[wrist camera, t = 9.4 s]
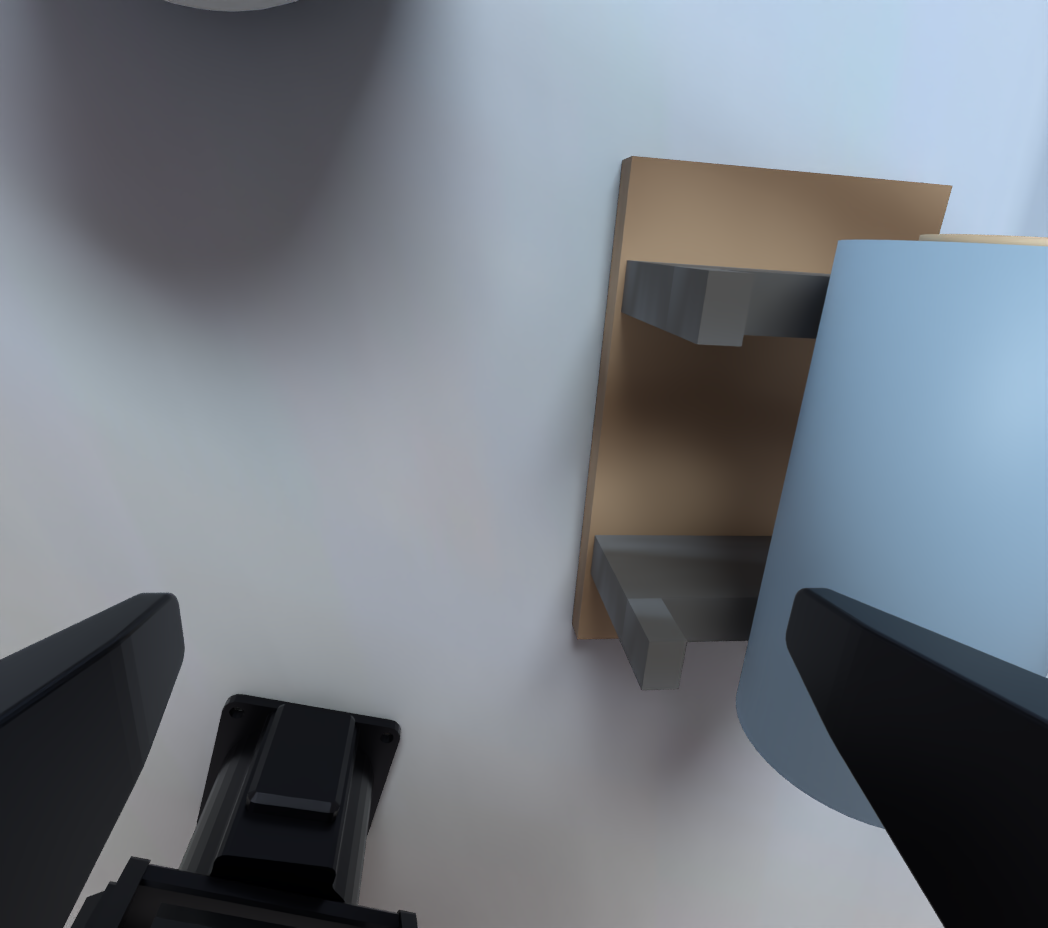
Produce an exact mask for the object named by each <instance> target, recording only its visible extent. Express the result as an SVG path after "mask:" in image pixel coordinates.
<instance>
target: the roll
mask: <svg viewBox="0 0 1048 928" xmlns="http://www.w3.org/2000/svg"><path fill="white" fill-rule="evenodd" d="M802 588H828V589H831V590H833V591H836V592H838V593H840V594H843V595H845V596H848V597H850V598H853V599H855V600H858V601H860V602H862V603H865V604H867V605H870V606H872V607H875V608H877V609H879V610H882V611H884V612H887V613H889V614H892V615H894V616H897V617H899V618H901V619H904V620H906V621H909V622H911V623H914V624H916V625H919V626H921V627H923V628H926V629H928V630H931V631H933V632H936V633H938V634H941V635H943V636H945V637H948V638H950V639H953V640H955V641H958V642H960V643H962V644H965V645H967V646H970V647H972V648H975V649H977V650H980V651H982V652H984V653H987V654H989V655H992V656H994V657H997V658H999V659H1002V660H1004V661H1006V662H1009V663H1011V664H1014V665H1016V666H1019V667H1021V668H1024V669H1026V670H1028V671H1031V672H1033V673H1036V674H1038V675H1041V676H1043V677H1046V676H1047V673H1048V238H1045V237H1025V236H1002V235H971V234H925V235H920V236H919V240H918V241H907V240H839V241H838V244H837V248H836V253H835V257H834V262H833V266H832V271H831V275H830V280H829V284H828V289H827V293H826V298H825V302H824V306H823V311H822V315H821V320H820V324H819V329H818V333H817V338H816V342H815V347H814V351H813V356H812V360H811V364H810V369H809V373H808V378H807V382H806V387H805V391H804V396H803V400H802V405H801V409H800V414H799V418H798V422H797V427H796V431H795V436H794V440H793V445H792V449H791V454H790V458H789V463H788V467H787V472H786V476H785V480H784V485H783V489H782V494H781V498H780V503H779V507H778V512H777V516H776V521H775V525H774V529H773V534H772V538H771V543H770V547H769V552H768V556H767V561H766V565H765V570H764V574H763V579H762V583H761V587H760V592H759V596H758V601H757V605H756V610H755V614H754V619H753V623H752V628H751V632H750V637H749V641H748V645H747V650H746V654H745V659H744V663H743V668H742V672H741V677H740V681H739V686H738V690H737V695H736V709H737V714H738V718H739V721H740V723H741V726H742V728H743V730H744V732H745V734H746V735H747V737H748V739H749V740H750V742H751V743H752V744H753V746H754V747H755V749H756V750H757V751H758V752H759V754H760V755H761V756H762V757H763V758H764V759H765V760H766V761H767V763H769V764H770V765H771V766H772V767H773V768H774V769H775V770H776V771H777V772H778V773H779V774H780V775H782V776H783V777H784V778H785V779H787V780H788V781H789V782H790V783H792V784H793V785H794V786H795V787H797V788H798V789H800V790H801V791H803V792H804V793H806V794H807V795H809V796H810V797H812V798H814V799H815V800H817V801H819V802H821V803H822V804H824V805H826V806H828V807H829V808H832V809H834V810H836V811H838V812H840V813H842V814H844V815H846V816H848V817H851V818H854V819H856V820H859V821H861V822H864V823H867V824H869V825H873V826H876V827H880V828H883V829H885V828H884V827H883V825H882V823H881V822H880V820H879V818H878V817H877V815H876V813H875V812H874V810H873V808H872V807H871V805H870V803H869V802H868V800H867V798H866V797H865V795H864V793H863V792H862V790H861V788H860V787H859V785H858V783H857V782H856V780H855V779H854V777H853V775H852V774H851V772H850V770H849V769H848V767H847V765H846V764H845V762H844V760H843V759H842V757H841V755H840V754H839V752H838V750H837V748H836V747H835V745H834V743H833V741H832V740H831V738H830V736H829V734H828V732H827V730H826V728H825V726H824V724H823V722H822V720H821V718H820V716H819V714H818V712H817V710H816V708H815V706H814V704H813V702H812V700H811V697H810V695H809V693H808V691H807V689H806V687H805V685H804V683H803V681H802V679H801V677H800V674H799V672H798V670H797V668H796V666H795V664H794V662H793V660H792V658H791V656H790V654H789V652H788V649H787V645H786V639H785V637H786V629H787V625H788V621H789V617H790V613H791V609H792V605H793V601H794V598H795V595H796V593H797V592H798V591H799V590H800V589H802Z"/></svg>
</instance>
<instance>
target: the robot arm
mask: <svg viewBox="0 0 1048 928" xmlns="http://www.w3.org/2000/svg"><path fill="white" fill-rule="evenodd" d="M785 639H786V645H787V649H788V652H789V654H790V656H791V658H792V660H793V662H794V664H795V666H796V668H797V670H798V672H799V674H800V677H801V679H802V681H803V683H804V685H805V687H806V689H807V691H808V693H809V695H810V697H811V700H812V702H813V704H814V706H815V708H816V710H817V712H818V714H819V716H820V718H821V720H822V722H823V724H824V726H825V728H826V730H827V732H828V734H829V736H830V738H831V740H832V741H833V743H834V745H835V747H836V748H837V750H838V752H839V754H840V755H841V757H842V759H843V760H844V762H845V764H846V765H847V767H848V769H849V770H850V772H851V774H852V775H853V777H854V779H855V780H856V782H857V783H858V785H859V787H860V788H861V790H862V792H863V793H864V795H865V797H866V798H867V800H868V802H869V803H870V805H871V807H872V808H873V810H874V812H875V813H876V815H877V817H878V818H879V820H880V822H881V823H882V825H883V827H884V828H885V830H886V832H887V833H888V835H889V837H890V838H891V840H892V842H893V843H894V845H895V846H896V848H897V850H898V851H899V853H900V855H901V856H902V858H903V860H904V861H905V863H906V865H907V866H908V868H909V870H910V871H911V873H912V875H913V876H914V878H915V880H916V881H917V883H918V885H919V886H920V888H921V890H922V891H923V893H924V895H925V896H926V898H927V900H928V901H929V903H930V904H931V906H932V908H933V909H934V911H935V913H936V914H937V916H938V918H939V919H940V921H941V923H942V924H943V926H944V928H1048V678H1046V677H1043V676H1041V675H1038V674H1036V673H1033V672H1031V671H1028V670H1026V669H1024V668H1021V667H1019V666H1016V665H1014V664H1011V663H1009V662H1006V661H1004V660H1002V659H999V658H997V657H994V656H992V655H989V654H987V653H984V652H982V651H980V650H977V649H975V648H972V647H970V646H967V645H965V644H962V643H960V642H958V641H955V640H953V639H950V638H948V637H945V636H943V635H941V634H938V633H936V632H933V631H931V630H928V629H926V628H923V627H921V626H919V625H916V624H914V623H911V622H909V621H906V620H904V619H901V618H899V617H897V616H894V615H892V614H889V613H887V612H884V611H882V610H879V609H877V608H875V607H872V606H870V605H867V604H865V603H862V602H860V601H858V600H855V599H853V598H850V597H848V596H845V595H843V594H840V593H838V592H836V591H833V590H831V589H828V588H802V589H800V590H799V591H798V592H797V593H796V595H795V598H794V601H793V605H792V609H791V613H790V617H789V621H788V625H787V629H786V637H785ZM184 651H185V645H184V637H183V630H182V623H181V616H180V609H179V603H178V600H177V598H176V596H175V595H173V594H172V593H140V594H138V595H136V596H133V597H131V598H129V599H127V600H125V601H123V602H121V603H119V604H117V605H114V606H112V607H110V608H108V609H106V610H104V611H102V612H100V613H98V614H96V615H93V616H91V617H89V618H87V619H85V620H83V621H81V622H79V623H77V624H74V625H72V626H70V627H68V628H66V629H64V630H62V631H60V632H58V633H56V634H53V635H51V636H49V637H47V638H45V639H43V640H41V641H39V642H37V643H34V644H32V645H30V646H28V647H26V648H24V649H22V650H20V651H18V652H15V653H13V654H11V655H9V656H7V657H5V658H3V659H1V660H0V928H63V927H64V925H65V923H66V921H67V919H68V917H69V915H70V913H71V911H72V909H73V907H74V905H75V903H76V901H77V899H78V897H79V895H80V893H81V891H82V889H83V887H84V885H85V883H86V881H87V879H88V877H89V875H90V873H91V871H92V869H93V867H94V865H95V863H96V861H97V859H98V857H99V855H100V853H101V851H102V849H103V847H104V845H105V843H106V841H107V839H108V837H109V835H110V833H111V831H112V830H113V828H114V826H115V824H116V822H117V820H118V818H119V816H120V814H121V812H122V810H123V808H124V806H125V804H126V802H127V800H128V798H129V796H130V794H131V792H132V790H133V788H134V786H135V784H136V781H137V779H138V777H139V775H140V773H141V771H142V769H143V767H144V764H145V762H146V759H147V757H148V754H149V752H150V749H151V746H152V744H153V741H154V738H155V736H156V733H157V730H158V727H159V725H160V722H161V719H162V717H163V714H164V711H165V708H166V706H167V703H168V700H169V698H170V695H171V692H172V690H173V687H174V684H175V681H176V679H177V676H178V673H179V671H180V668H181V665H182V662H183V658H184ZM234 707H239V708H241V709H242V710H243V711H238V710H236V709H235V708H234ZM400 730H401V728H400V726H399V724H398V723H397V722H395V721H392V720H388V719H382V718H376V717H370V716H365V715H359V714H353V713H347V712H342V711H336V710H330V709H324V708H318V707H313V706H307V705H301V704H295V703H290V702H284V701H278V700H272V699H266V698H261V697H255V696H249V695H243V694H236V695H233V696H231V697H230V698H228V700H227V702H226V704H225V706H224V708H223V710H222V714H221V719H220V723H219V727H218V732H217V736H216V741H215V745H214V749H213V754H212V758H211V763H210V767H209V771H208V776H207V780H206V785H205V789H204V793H203V798H202V802H201V807H200V811H199V815H198V820H197V826H196V829H195V831H194V833H193V836H192V838H191V841H190V843H189V845H188V848H187V850H186V853H185V855H184V857H183V860H182V862H181V865H180V867H179V869H173V868H168V867H163V866H158V865H153V864H149V863H150V860H148V859H143V858H138V857H133V856H131V858H130V859H129V861H128V863H127V865H126V867H125V868H124V870H123V872H122V874H121V876H120V878H119V880H118V881H117V882H111V881H110V882H109V884H108V886H107V887H106V889H105V891H103V892H100V893H97V894H95V895H92V896H89V897H87V898H86V900H85V902H84V904H83V906H82V908H81V910H80V911H79V913H78V915H77V917H76V919H75V921H74V923H73V924H72V926H71V928H418V926H417V918H416V913H412V912H407V911H402V910H399V911H398V912H397V913H394V912H389V911H384V910H379V909H374V908H369V907H364V906H359V905H358V902H359V894H360V886H361V878H362V870H363V862H364V854H365V846H366V838H367V835H368V832H369V829H370V826H371V823H372V820H373V817H374V814H375V811H376V808H377V805H378V802H379V799H380V796H381V793H382V790H383V788H384V785H385V782H386V779H387V776H388V773H389V770H390V767H391V764H392V761H393V758H394V755H395V752H396V749H397V746H398V743H399V740H400ZM383 733H391V735H384V734H383Z"/></svg>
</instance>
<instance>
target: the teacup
mask: <svg viewBox="0 0 1048 928" xmlns="http://www.w3.org/2000/svg"><path fill="white" fill-rule="evenodd" d="M164 1H167V2H170V3H173V4H178V5H183V6H188V7H192V8H197V9H204V10H213V11H231V12H237V11H251V10H263V9H267V8H271V7H276V6H280V5H284V4H288V3H293V2H296V1H298V0H164Z"/></svg>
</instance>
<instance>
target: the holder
mask: <svg viewBox="0 0 1048 928" xmlns="http://www.w3.org/2000/svg"><path fill="white" fill-rule="evenodd" d="M951 189H952V186H950V185H939V184H928V183H917V182H907V181H896V180H885V179H874V178H863V177H853V176H842V175H831V174H820V173H810V172H799V171H788V170H777V169H766V168H756V167H745V166H734V165H723V164H712V163H702V162H691V161H680V160H669V159H658V158H648V157H637V156H631V157H629V158H626V159H624V160H622V169H621V178H620V187H619V197H618V206H617V215H616V224H615V233H614V243H613V252H612V261H611V270H610V279H609V288H608V298H607V307H606V316H605V325H604V334H603V344H602V353H601V362H600V371H599V380H598V390H597V399H596V408H595V417H594V426H593V435H592V445H591V454H590V463H589V472H588V481H587V491H586V500H585V509H584V518H583V527H582V537H581V546H580V555H579V564H578V573H577V582H576V592H575V601H574V610H573V619H572V625H573V628H574V631H575V634H576V637H577V639H619V640H620V642H621V644H622V646H623V649H624V651H625V653H626V655H627V658H628V660H629V662H630V665H631V667H632V669H633V671H634V674H635V676H636V678H637V680H638V683H639V685H640V687H641V690H661V689H678V688H679V682H680V677H681V672H682V666H683V661H684V655H685V650H686V644H687V642H702V641H749V637H750V632H751V628H752V623H753V619H754V614H755V610H756V605H757V601H758V596H759V592H760V587H761V583H762V579H763V574H764V570H765V565H766V561H767V556H768V552H769V547H770V543H771V538H772V534H773V529H774V525H775V521H776V516H777V512H778V507H779V503H780V498H781V494H782V489H783V485H784V480H785V476H786V472H787V467H788V463H789V458H790V454H791V449H792V445H793V440H794V436H795V431H796V427H797V422H798V418H799V414H800V409H801V405H802V400H803V396H804V391H805V387H806V382H807V378H808V373H809V369H810V364H811V360H812V356H813V351H814V347H815V342H816V338H817V333H818V329H819V324H820V320H821V315H822V311H823V306H824V302H825V298H826V293H827V289H828V284H829V280H830V275H831V271H832V266H833V262H834V257H835V253H836V248H837V244H838V241H839V240H907V241H918V240H919V236H920V235H925V234H939V233H940V229H941V225H942V222H943V218H944V215H945V211H946V207H947V204H948V200H949V196H950V193H951Z"/></svg>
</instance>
